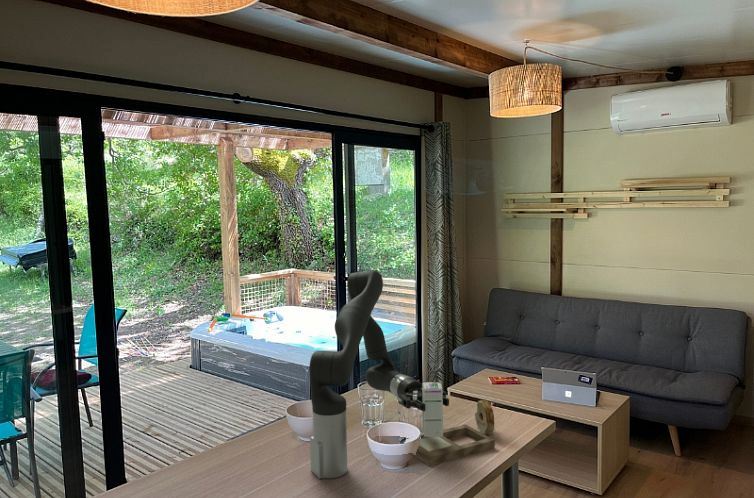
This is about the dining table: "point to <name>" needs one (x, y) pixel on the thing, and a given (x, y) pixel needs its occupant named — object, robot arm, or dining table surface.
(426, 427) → the syrup box
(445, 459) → the dock board
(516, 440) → the dining table surface
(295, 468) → the dining table surface
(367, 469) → the dining table surface
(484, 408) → the bagel
